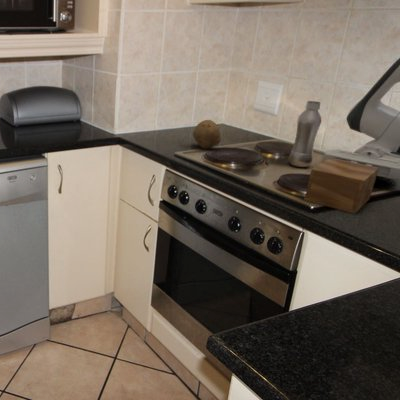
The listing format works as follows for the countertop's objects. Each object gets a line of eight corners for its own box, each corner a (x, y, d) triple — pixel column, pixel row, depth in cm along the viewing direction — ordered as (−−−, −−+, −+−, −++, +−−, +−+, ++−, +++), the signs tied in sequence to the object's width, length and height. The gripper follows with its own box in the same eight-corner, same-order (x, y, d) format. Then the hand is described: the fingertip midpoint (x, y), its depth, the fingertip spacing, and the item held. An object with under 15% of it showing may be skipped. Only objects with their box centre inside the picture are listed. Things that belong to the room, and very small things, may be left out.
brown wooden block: (330, 180, 135) (336, 157, 132) (373, 190, 128) (380, 166, 126) (313, 192, 126) (320, 168, 124) (358, 204, 119) (366, 178, 117)
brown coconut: (187, 144, 171) (190, 117, 167) (210, 144, 171) (215, 116, 168) (197, 152, 162) (201, 123, 158) (222, 151, 163) (227, 122, 159)
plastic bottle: (314, 167, 149) (330, 103, 141) (303, 170, 145) (318, 105, 138) (294, 161, 154) (309, 99, 146) (283, 165, 150) (297, 101, 143)
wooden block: (321, 187, 132) (329, 157, 129) (369, 199, 125) (378, 168, 122) (303, 200, 124) (311, 168, 120) (354, 213, 116) (364, 180, 113)
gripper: (333, 142, 144) (317, 150, 136) (415, 157, 131) (404, 168, 122) (328, 161, 147) (312, 171, 138) (408, 178, 133) (396, 190, 124)
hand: (356, 170), depth 130 cm, fingers closed, pressing on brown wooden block
